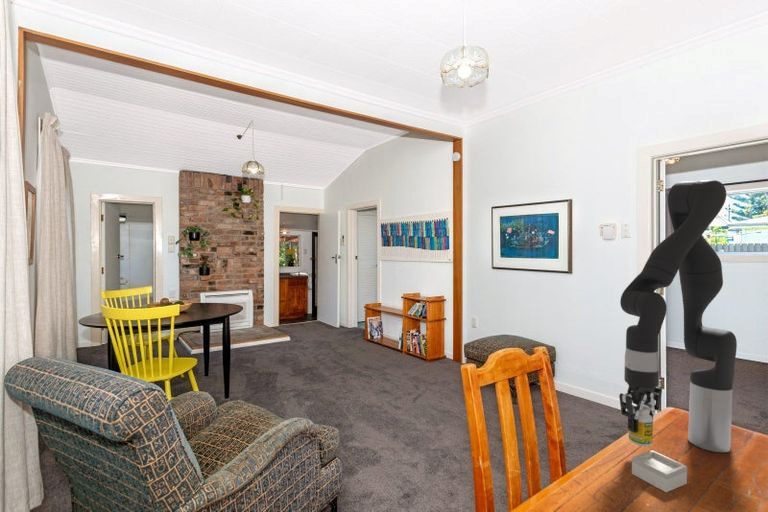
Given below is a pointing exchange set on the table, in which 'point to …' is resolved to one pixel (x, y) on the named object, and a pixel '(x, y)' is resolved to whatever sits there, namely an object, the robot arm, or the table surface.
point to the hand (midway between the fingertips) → (640, 428)
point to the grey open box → (659, 470)
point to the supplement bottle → (643, 428)
